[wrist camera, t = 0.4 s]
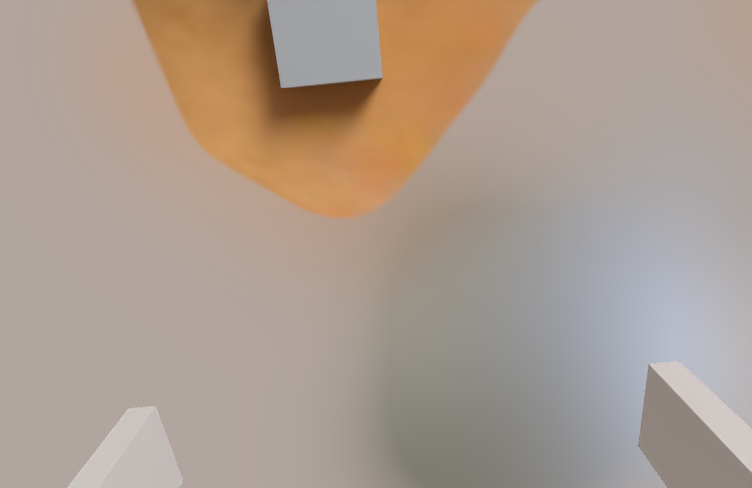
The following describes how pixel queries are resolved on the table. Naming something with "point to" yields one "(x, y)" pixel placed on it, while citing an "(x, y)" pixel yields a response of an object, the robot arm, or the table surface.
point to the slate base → (325, 41)
